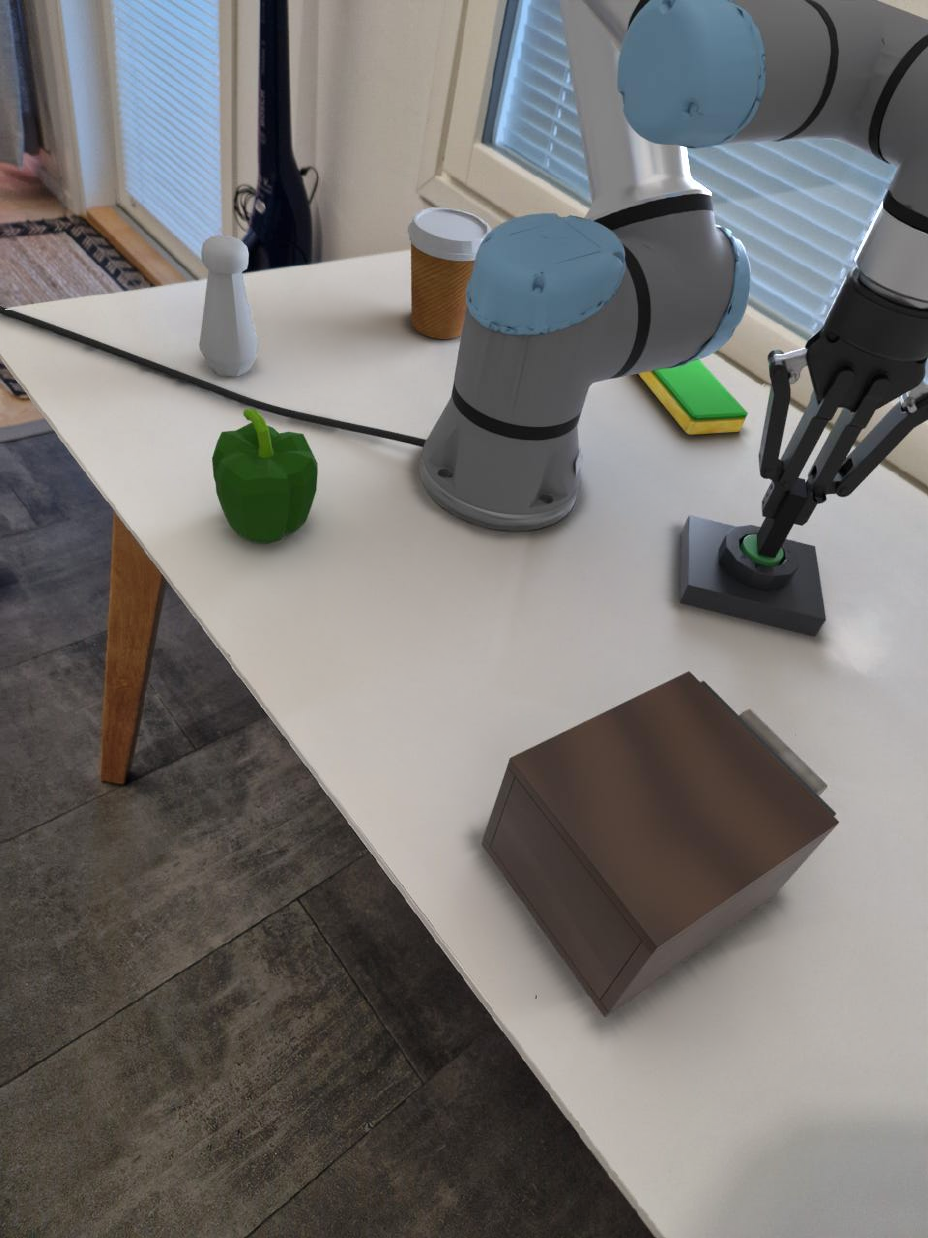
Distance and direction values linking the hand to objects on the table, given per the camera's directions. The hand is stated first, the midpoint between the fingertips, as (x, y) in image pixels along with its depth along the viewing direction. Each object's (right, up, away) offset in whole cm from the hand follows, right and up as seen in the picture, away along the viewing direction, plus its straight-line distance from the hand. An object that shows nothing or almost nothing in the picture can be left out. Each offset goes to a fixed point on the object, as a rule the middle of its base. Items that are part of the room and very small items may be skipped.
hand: (765, 546), depth 75 cm
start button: (0, -1, +1) cm, 2 cm away
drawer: (-12, -21, -18) cm, 30 cm away
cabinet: (-16, -23, -19) cm, 33 cm away
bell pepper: (-43, +2, -1) cm, 43 cm away
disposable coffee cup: (-29, +28, +28) cm, 49 cm away
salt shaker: (-50, +20, +15) cm, 56 cm away
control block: (-1, -3, +3) cm, 5 cm away
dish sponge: (-1, +19, +25) cm, 31 cm away
